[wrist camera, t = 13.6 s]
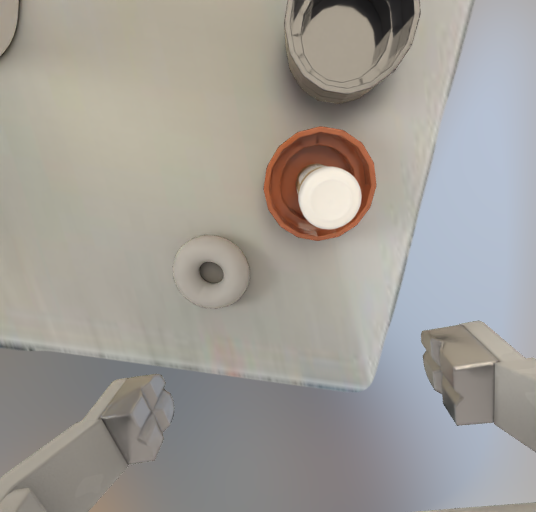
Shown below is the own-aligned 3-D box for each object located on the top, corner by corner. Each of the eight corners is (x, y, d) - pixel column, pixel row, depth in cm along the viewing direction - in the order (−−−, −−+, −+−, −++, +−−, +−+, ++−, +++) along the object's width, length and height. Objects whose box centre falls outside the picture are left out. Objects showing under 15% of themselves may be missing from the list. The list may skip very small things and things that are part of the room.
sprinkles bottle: (295, 203, 34) (299, 231, 22) (295, 163, 33) (298, 168, 20) (334, 202, 34) (361, 229, 21) (335, 161, 32) (365, 165, 20)
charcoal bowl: (275, -5, 28) (272, -40, 23) (390, -43, 27) (414, -91, 21) (297, 115, 32) (299, 107, 26) (401, 87, 30) (424, 73, 25)
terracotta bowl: (258, 145, 33) (252, 143, 28) (355, 120, 31) (368, 113, 26) (279, 235, 36) (277, 249, 31) (367, 217, 35) (381, 228, 30)
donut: (257, 240, 37) (180, 224, 37) (254, 248, 34) (171, 231, 33) (244, 306, 40) (174, 293, 40) (241, 320, 37) (165, 305, 37)
